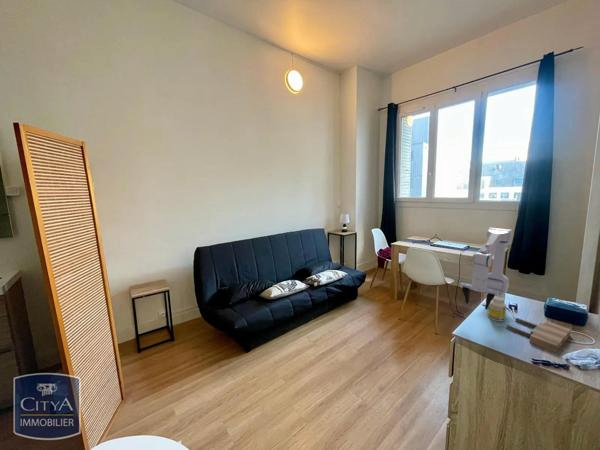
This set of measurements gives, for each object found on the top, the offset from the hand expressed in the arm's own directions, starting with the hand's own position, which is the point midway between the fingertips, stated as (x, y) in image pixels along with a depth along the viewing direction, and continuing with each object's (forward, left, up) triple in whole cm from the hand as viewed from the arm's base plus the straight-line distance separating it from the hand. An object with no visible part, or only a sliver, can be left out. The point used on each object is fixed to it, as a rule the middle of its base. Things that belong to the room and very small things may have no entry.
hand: (476, 305), depth 117 cm
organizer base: (-14, +18, -10) cm, 25 cm away
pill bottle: (-14, +3, -10) cm, 18 cm away
